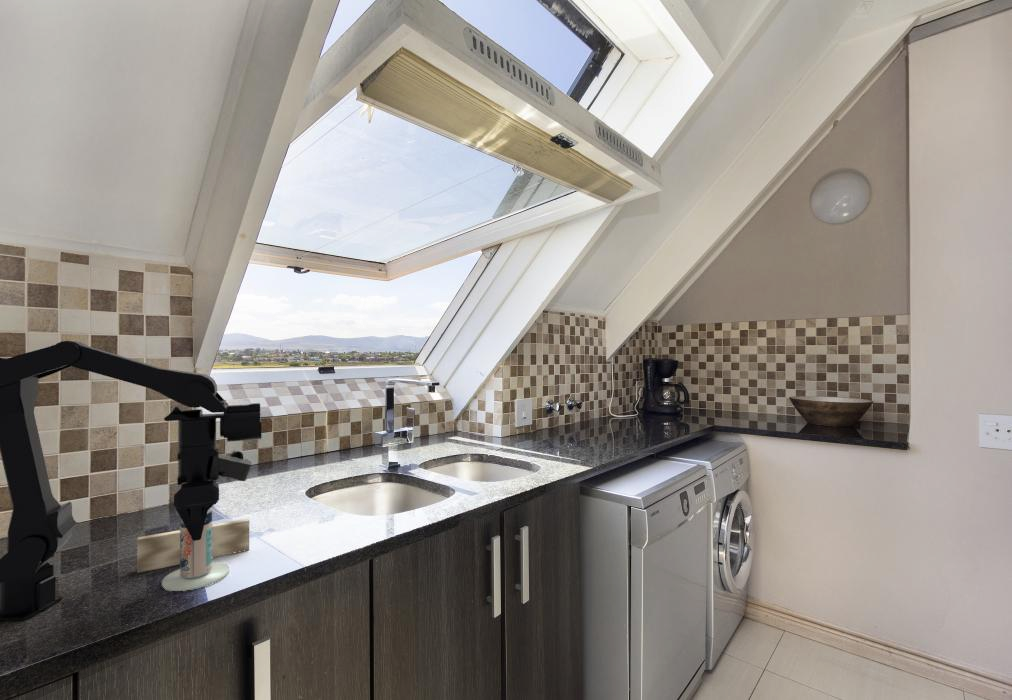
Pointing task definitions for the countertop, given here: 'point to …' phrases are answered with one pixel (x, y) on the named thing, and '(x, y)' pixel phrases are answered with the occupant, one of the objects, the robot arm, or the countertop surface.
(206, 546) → the beer can
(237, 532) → the birch screen
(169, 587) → the sage pad
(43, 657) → the countertop surface
